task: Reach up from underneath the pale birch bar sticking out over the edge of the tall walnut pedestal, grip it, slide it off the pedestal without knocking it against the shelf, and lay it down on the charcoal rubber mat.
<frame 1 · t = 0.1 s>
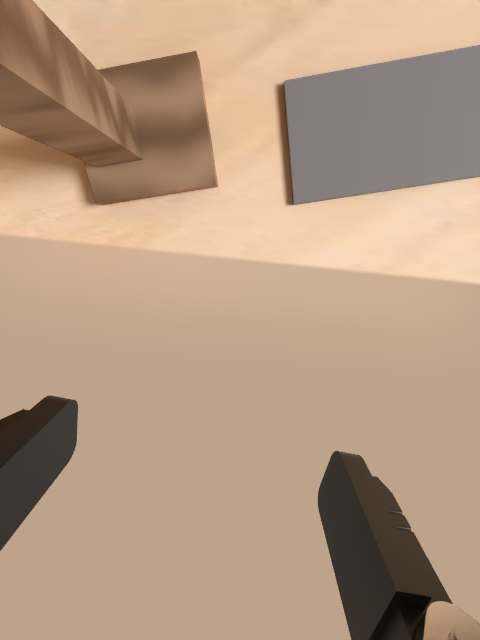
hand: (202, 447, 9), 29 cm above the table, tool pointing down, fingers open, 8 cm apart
charcoal mat: (407, 128, 31), on the table
walnut pedestal: (148, 138, 32), on the table
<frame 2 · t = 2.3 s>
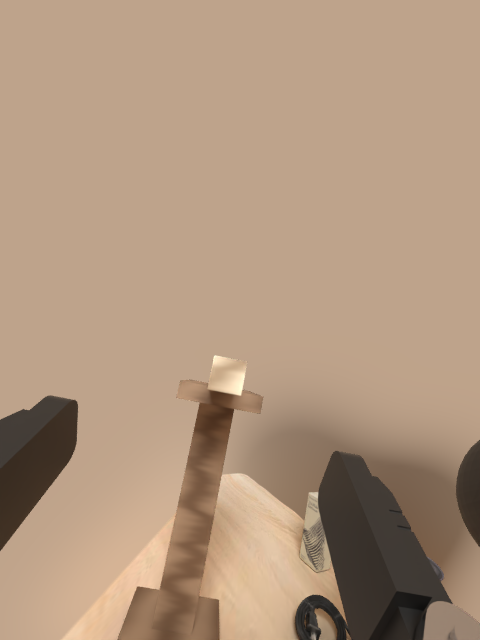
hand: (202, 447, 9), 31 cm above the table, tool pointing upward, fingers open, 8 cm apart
birch bar: (221, 387, 37), point 32 cm above the table, touching walnut pedestal
box: (314, 565, 59), on the table
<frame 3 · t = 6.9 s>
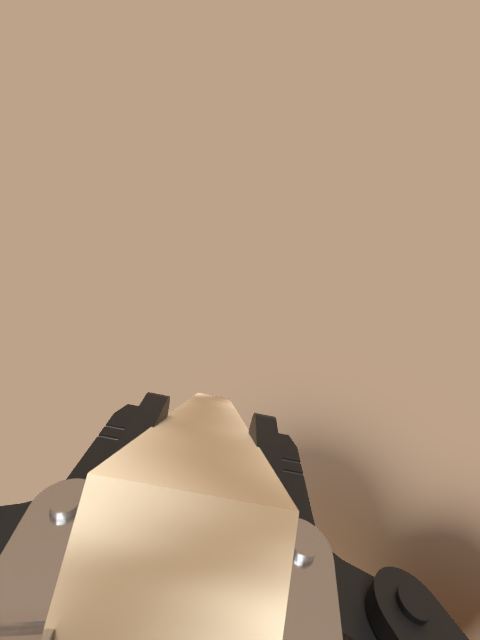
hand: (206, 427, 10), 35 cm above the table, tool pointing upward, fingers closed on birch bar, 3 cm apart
birch bar: (199, 466, 15), point 32 cm above the table, touching gripper, walnut pedestal
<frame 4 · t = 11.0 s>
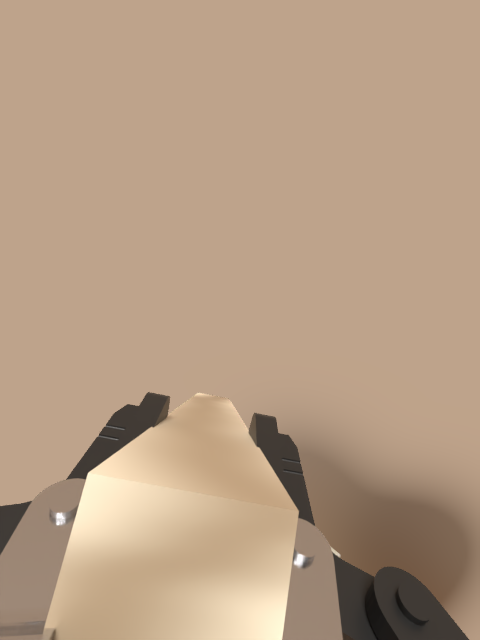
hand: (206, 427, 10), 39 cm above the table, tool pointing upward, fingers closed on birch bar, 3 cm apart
birch bar: (199, 466, 15), point 36 cm above the table, touching gripper
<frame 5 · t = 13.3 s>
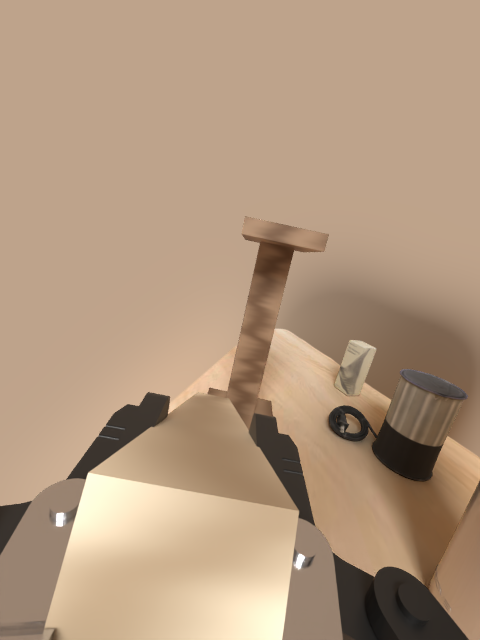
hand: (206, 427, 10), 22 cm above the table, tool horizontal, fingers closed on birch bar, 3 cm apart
milk frother: (374, 448, 50), on the table
birch bar: (199, 465, 15), point 17 cm above the table, tilted 26°, touching gripper
walnut pedestal: (235, 424, 48), on the table
box: (346, 392, 72), on the table
when the fingers open (13 cm above the table, at t = 15.6 s): birch bar drops 7 cm, resting on charcoal mat.
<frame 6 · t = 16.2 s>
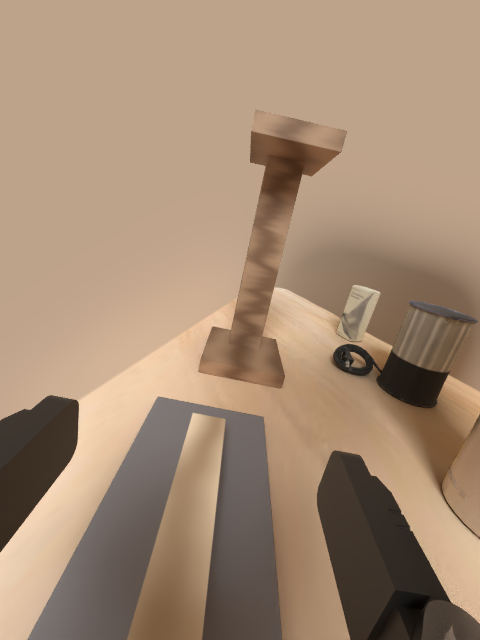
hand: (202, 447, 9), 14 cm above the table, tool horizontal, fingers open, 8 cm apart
milk frother: (379, 382, 50), on the table
birch bar: (171, 604, 15), point 1 cm above the table, touching charcoal mat
charcoal mat: (186, 528, 20), on the table
walnut pedestal: (241, 358, 47), on the table
box: (348, 338, 71), on the table
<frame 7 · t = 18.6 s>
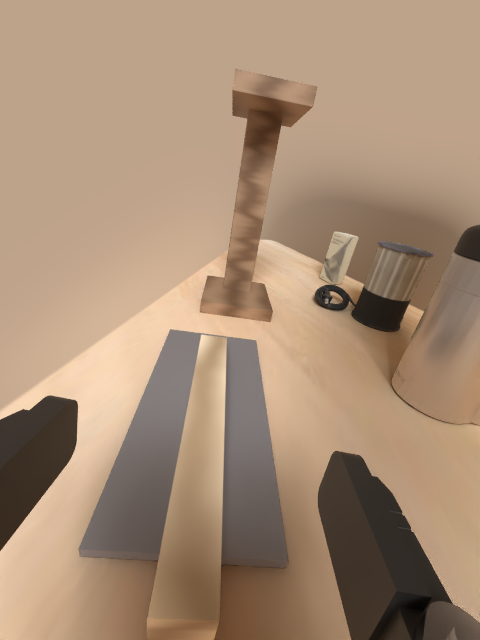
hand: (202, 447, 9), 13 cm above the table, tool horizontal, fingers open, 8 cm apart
milk frother: (354, 315, 59), on the table
birch bar: (202, 437, 24), point 1 cm above the table, touching charcoal mat
charcoal mat: (205, 405, 28), on the table
walnut pedestal: (235, 301, 54), on the table
box: (330, 282, 79), on the table
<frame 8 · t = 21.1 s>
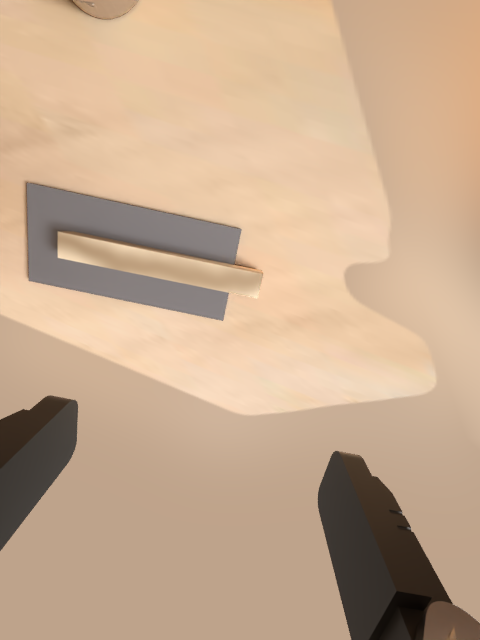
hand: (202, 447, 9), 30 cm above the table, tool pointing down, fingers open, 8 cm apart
birch bar: (167, 263, 36), point 1 cm above the table, touching charcoal mat
charcoal mat: (133, 255, 37), on the table
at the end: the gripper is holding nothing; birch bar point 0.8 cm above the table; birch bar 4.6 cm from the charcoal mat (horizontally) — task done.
